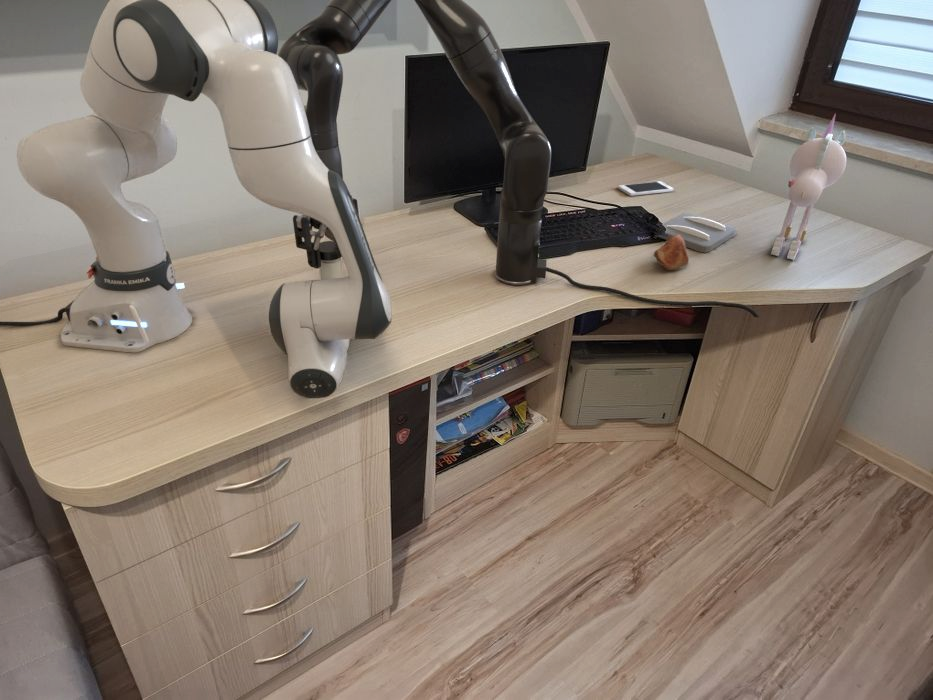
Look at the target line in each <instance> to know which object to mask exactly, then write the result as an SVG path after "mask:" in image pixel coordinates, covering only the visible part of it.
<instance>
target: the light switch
mask: <svg viewBox="0 0 933 700" xmlns="http://www.w3.org/2000/svg"><path fill="white" fill-rule="evenodd" d="M661 224H662V225H663V226H664V227H665V228H666V231H665V234H667V235H668V237H665V236H662V235H658V236H657V235H654V236H655V237H657V238H659V239H663V240H665V241H667V240H668V238H670V237H672V236H676V235H678V234H680V235H681V236H682V238H683V239H684V241H685V245H686V248H689V249H692V250H694V251H697V252H699V253H709V252H711V251H712V250H714V249H716V248H717V247H719V246H720V245H722V244H724V243H725V242H727V241H730V239H732V238H734V237H736V234H737V228H736V227H734V226H732V225H729V224H725V223H722V222H719V221H716V220H713V219H710V218H707V217H703V216H700V215H697V214H694V213H690V212H683V213H682V214H679V215H677V216H675V217H673V218H671V219H669V220H668V221H666V222H663V223H661Z"/></svg>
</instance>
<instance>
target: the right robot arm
mask: <svg viewBox="0 0 933 700" xmlns="http://www.w3.org/2000/svg"><path fill="white" fill-rule="evenodd" d="M413 1H414V2H415V4H416V6H417V8H418V9H419V10H420V13H422V16H423V17H424V19H425V21H426V22H427V24H428V25H429V28H430V29H431V30H432V32H433V34H434V36H435V38H436V39H437V41H438V42H439V45H440V46H441V48H442V50H443V51H444V54H445V55H446V58H447V59H448V61H449V62H450V65H451V66H452V68H453V70H454V72H455V73H456V75H457V77H458V78H459V80H460V81H461V83H462V85H463V86H464V88H465V89H466V90H467V92H468V93H469V94H470V95H471V97H472V98H473V100H475V102H476V103H477V104H478V105H479V106H480V108H481V110H482V111H483V113H484V114H485V115H486V116H487V119H488V120H489V123H490V125H491V127H492V130H493V132H494V133H495V136H496V138H497V141H498V143H499V146H500V150H501V152H502V155H503V158H504V168H503V169H504V171H503V183H502V188H501V190H500V198H499V211H498V228H497V244H496V260H495V270H494V277H495V278H496V280H498V281H499V282H502V283H503V284H508V285H510V286H525V285H530V284H537V279H546V276H547V275H546V274H547V272H548V273H551V274H554V275H556V276H559V277H561V278H563V279H565V280H566V281H567V282H569V284H570V285H573V286H574V287H577V288H580V289H585V290H590V291H591V290H592V291H602V292H603V291H604V292H608V293H612V294H616V295H619V296H622V297H625V298H629V299H631V300H634V301H639V302H642V303H648V304H654V305H660V306H661V305H663V306H678V307H680V306H681V307H697V306H698V307H699V306H715V307H717V306H718V307H726V308H737V309H742V310H745V311H747V312H748V313H750V314H751V315H752V316H753V317H754V318H760V316H759V314H758V313H757V311H756V310H755V309H753V308H752V307H750V306H749V305H746V304H742V303H737V302H724V301H716V300H702V301H700V300H699V301H677V300H676V301H675V300H662V299H654V298H648V297H643V296H639V295H635V294H631V293H629V292H626V291H622V290H619V289H616V288H612V287H607V286H601V285H591V284H590V285H589V284H584V283H580V282H577V281H576V280H573V278H571V277H570V276H569V275H568V274H566V273H564V272H562V271H560V270H557V269H553V268H550V267H548V266H547V265H548V264H547V261H548V260H547V259H542V258H539V257H540V246H541V244H540V243H541V231H542V222H543V221H542V220H543V213H544V212H543V211H544V201H545V197H546V196H547V193H548V189H549V188H548V187H549V180H550V179H549V178H550V172H551V164H552V146H551V143H550V141H549V139H548V138H547V136H546V134H545V133H544V132H543V130H542V129H541V128H540V126H539V125H538V124H537V122H536V121H535V119H533V117H532V115H531V114H530V112H529V111H528V109H527V108H526V106H525V105H524V103H523V101H522V100H521V98H520V96H519V94H518V91H517V90H516V87H515V84H514V81H513V79H512V75H511V72H510V70H509V66H508V63H507V61H506V59H505V57H504V54H503V52H502V49H501V47H500V46H499V44H498V41H497V39H496V38H495V36H494V33H493V32H492V30H491V28H490V27H489V25H488V23H487V22H486V20H485V19H484V17H482V16H481V15H480V14H479V13H478V12H477V11H476V10H475V9H474V8H473V7H472V6H470V5H469V4H468V3H467V2H466V1H464V0H413ZM391 2H392V0H329V2H328V3H327V4H326V6H325V7H324V9H322V11H321V13H320V14H319V15H317V16H316V17H315V18H314V19H312V20H309V22H307V23H306V24H304V26H302V27H301V28H299V29H298V30H297V31H295V32H294V33H293V34H291V35H290V36H289V37H288V38H287V39H286V40H285V42H284V43H283V44H282V45H281V47H280V49H279V50H278V52H277V55H278V56H279V57H281V58H282V59H283V60H284V61H285V62H286V63H287V64H288V65H289V67H290V69H291V71H292V74H293V76H294V79H295V81H296V84H297V87H298V90H299V91H305V92H307V100H306V105H304V109H305V112H306V116H307V120H308V125H309V129H310V134H311V139H312V143H313V146H314V148H315V150H316V153H317V154H318V156H319V158H320V159H321V161H322V162H323V163H324V165H325V166H326V167H327V168H328V169H329V170H331V171H333V172H335V173H338V174H339V175H340V176H341V178H342V179H343V180H344V174H343V162H342V154H341V150H340V144H339V133H338V123H337V118H338V112H339V108H340V102H341V96H342V89H343V84H344V69H343V66H342V63H341V59H340V57H339V55H345V54H349V53H351V52H352V51H354V50H355V48H357V46H358V45H359V44H360V43H361V41H362V40H363V38H364V37H365V36H366V34H367V33H368V32H369V31H370V30H371V28H372V27H373V25H374V24H375V23H376V22H377V20H378V19H379V17H380V16H381V15H382V14H383V12H384V11H385V9H387V7H388V5H389V4H390V3H391ZM351 198H352V199H353V196H352V195H351ZM292 224H293V231H294V239H295V246H296V248H297V249H301V250H305V251H306V257H307V258H306V259H307V264H308V266H309V267H310V268H313V269H317V270H319V268H320V267H321V259H320V250H319V249H318V248H319V244H320V243H321V240H322V239H323V238H325V234H326V231H327V230H328V229H329V228H328V227H327V226H326V225H324V224H323V223H321V222H320V221H318V220H316V219H313V218H311V217H309V216H306V215H303V214H300V215H298V214H295V215H293V217H292ZM313 228H314V229H316V230H318V231H315V230H313ZM313 237H314V238H313ZM312 238H313V241H312ZM334 241H335V242H336V239H335V238H334Z"/></svg>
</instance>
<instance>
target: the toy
mask: <svg viewBox="0 0 933 700" xmlns="http://www.w3.org/2000/svg"><path fill="white" fill-rule="evenodd" d="M836 116H837V115H836V112H835V113H834V115H833V116H832V119H831V120H830V122H829V124H828V126H827V128H826V130H825V131H824V133H823V134H822V136H821V137H817V138H816V136H817V128H815V127H810V129H809V130H808V133H807V135H806V136H805V142H804V143H802V144H801V145H800V146H798V148H797V149H796V150H795V151H794V152H793V154H792V156H791V159H790V162H789V173H790V175H791V178H792V180H789V181H788V188H789V189H788V198H789V201H790V202H789V205H788V209H787V212H786V215H785V218H784V221H783V223H782V227H781V230H780V233H779V235H777V236H776V239H775V241H774V243H773V246H772V249H771V253H770V255H772V256H776V257H779V255H780V253H781V252H782V249H783V248H784V246H785V242H786V240H789V238H790V234H791V232H792V227H793V225H792V223H793V219H794V217H795V213H796V211H797V208H798V207H801V208H802V207H804V208H805V210H804V213H803V216H802V219H801V222H800V225H799V227H798V230H797V233H796V237H795V239H793V240H792V242H791V245H790V247H789V250H788V253H787V256H786V259H788V260H792V261H794V260H795V259H796V257H797V255H798V253H799V251H800V249H801V245H802V244H803V243H804V240H805V238H806V235H807V231H808V228H807V227H808V224H809V221H810V218H811V215H812V212H813V209H814V207H815V204H816V202H817V201H818V200H819V199H820V197H821V195H822V193H823V191H824V189H827V188H828V187H831V186H832V185H834V184H835V183H836V182H837V181H838V180H840V178H841V177H842V176H843V174H844V173H845V170H846V168H847V167H846V166H847V154H846V152H845V150H844V148H843V145H844V143H845V141H846V140H847V134H846V131H845V130H840V131H839V132H838V133H837V135H836V137H835V139H833V129H834V125H835V120H836ZM841 135H842V138H841V141H840V137H841Z"/></svg>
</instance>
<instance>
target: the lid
mask: <svg viewBox="0 0 933 700" xmlns="http://www.w3.org/2000/svg"><path fill="white" fill-rule="evenodd" d="M318 249H319V250H320V259H321V260H324V261H332V260H336V259H339V258H341V259H342V255H341V252H340V250H339V247H338V244H337V242H335V240H326V241H320V244H319V248H318Z"/></svg>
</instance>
